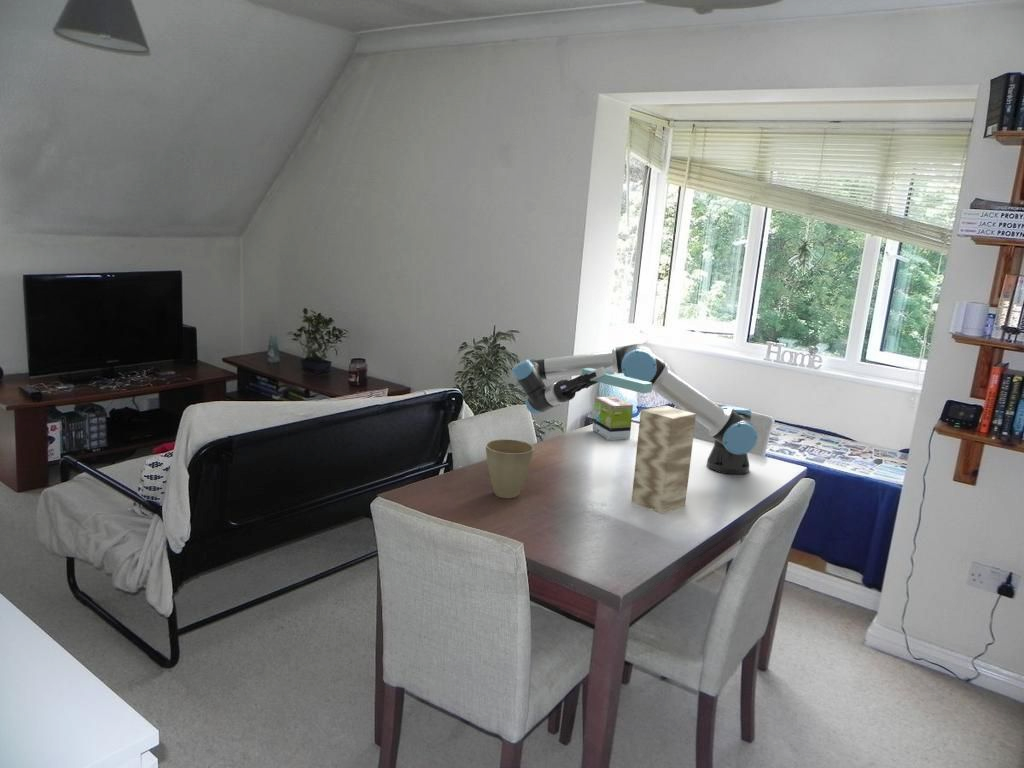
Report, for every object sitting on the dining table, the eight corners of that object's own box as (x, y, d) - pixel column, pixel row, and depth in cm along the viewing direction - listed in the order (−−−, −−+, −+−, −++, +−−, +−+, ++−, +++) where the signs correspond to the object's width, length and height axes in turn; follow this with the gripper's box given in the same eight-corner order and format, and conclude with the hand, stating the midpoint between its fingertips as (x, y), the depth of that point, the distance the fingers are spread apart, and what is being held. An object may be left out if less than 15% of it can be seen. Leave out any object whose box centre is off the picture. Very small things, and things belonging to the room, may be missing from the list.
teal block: (581, 377, 263) (582, 368, 263) (589, 376, 266) (590, 367, 265) (643, 393, 245) (644, 384, 244) (651, 392, 248) (652, 382, 247)
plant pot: (473, 492, 247) (475, 444, 243) (505, 483, 257) (508, 436, 254) (507, 506, 237) (510, 456, 234) (539, 496, 248) (543, 447, 244)
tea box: (591, 430, 329) (594, 396, 326) (612, 429, 333) (615, 395, 330) (609, 440, 316) (612, 405, 313) (630, 439, 320) (634, 404, 317)
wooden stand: (631, 501, 248) (640, 409, 242) (654, 494, 256) (664, 405, 250) (662, 513, 239) (672, 418, 233) (685, 505, 247) (696, 413, 241)
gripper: (580, 399, 279) (628, 378, 262) (546, 405, 267) (595, 383, 251) (574, 379, 280) (621, 357, 263) (540, 384, 268) (587, 361, 252)
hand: (608, 370), depth 257 cm, fingers closed on teal block, 4 cm apart
